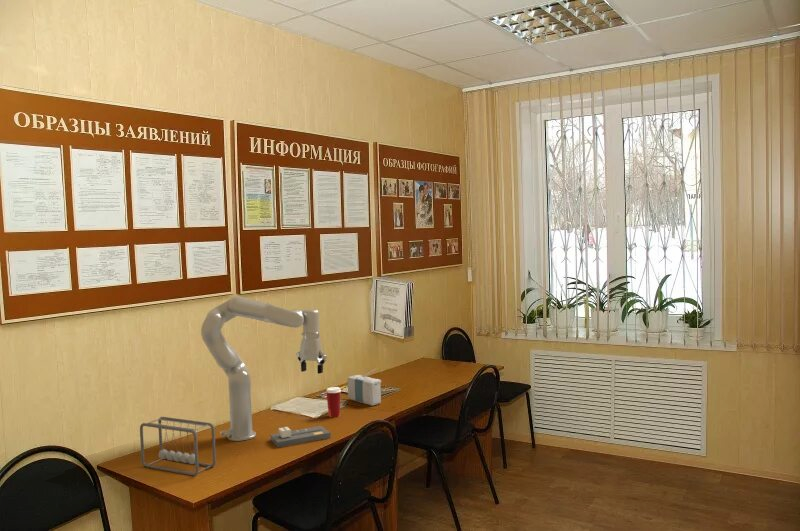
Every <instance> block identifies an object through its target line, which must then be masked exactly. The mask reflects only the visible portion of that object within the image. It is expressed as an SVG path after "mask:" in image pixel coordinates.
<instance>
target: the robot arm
mask: <svg viewBox="0 0 800 531" xmlns="http://www.w3.org/2000/svg"><path fill="white" fill-rule="evenodd" d="M235 317H240V318H241V317H242V318H246V319H250V320H251V319H252V320H255V321H256V320H257V321H260V322H266V323H271V324H275V325H278V326H279V325H280V326H285V327H290V328H295V329H296V328H299V327H302V333H301V336H302V338H301V340H300V342H301V343H300V348H299V349H300V351H298V352H297V353H296V356H297V360H298V361H299V364H300V371H301V372H302V373H303V372H306V371H307V362H306V361H309V362H316V363H317V365H316V366H317V367H316V368H317V374H322V373H324V364H325V362H326V361H327V359H328V355H327V354H326V353H324V352H323V345H322V340H321V338H320V312H319V310H318V309H315V308H314V309H312V308H310V309H308V308H307V309H296V308H295V309H287V308H282V307H278V306H275V305H273V304H271V303H268V302H264V301H261V300H260V301H259V300H255V299H254V300H253V299H250V298H246V297H243V296H241V295H236V296H233V297H231V298H230V299H228V300H227V301H224V302H223V303H221V304H220V305H218V306H215V307H214V308H212V309H210V310H209V311H208V312H207V314H206V317H205V319H204V320H203V322H202V324H201V328H200V335H201V338H202V341H203V342H204V345H205V346H206V347H207V349H208V351H209V353H210V354H211V356H212V357H213V359H214V360H215V362H216V365H217V366H218V367H219V368H220V369H222V371H223V372H224V373H225V375H226V377H227V379H228V380H227V381H228V400H229V401H228V402H229V418H230V419H229V420H230V427H228V429H226V430H219V434H220V436H224V437H227V440H229V441H233V442H243V441H249V440H251V439H253V438H255V437H256V436H257V432H256V431H255V430H253V414H252V413H253V412H252V411H253V410H252V394H251V393H252V392H251V388H252V387H251V381H252V380H251V375H250V372H249V368H248V367H247V365H246V364H245V363H244V361H243V359H242V358H241V356H240V355H239V354H238V352H237V350H236V349H235V347H233V346H231V345H230V344H229V342H228V341H227V340H226V337H225V336H224V335H223V333H222V328H223V326H224V325H225V323H228V322H229V321H230V320H232V319H235Z"/></svg>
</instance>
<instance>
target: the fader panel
mask: <svg viewBox="0 0 800 531" xmlns="http://www.w3.org/2000/svg"><path fill="white" fill-rule="evenodd" d="M269 435H270V436H269V437H270V438H269V439H270V442H272V443H273V444H274V446H276V448H277V449H278V448H284V447H285V446H286V447H290V446H289V445H291V446H295V445H294V444H296V445H300V444H299V443H302V444H306V443H305V442H307V443H310V442H309V441H313V442H316V441H315V440H318V441H322V440H321V439H323V440H328V439H327V438H329V439H331V432H330V431H329V430H327V429H326V428H325V427H323V426H322V425H318V426H312V427H308V428H307V427H306V428H301V429H296V430H295V429H294V430H291V437H285V438H282V437H281V436H279V432H277V433H271V434H269Z"/></svg>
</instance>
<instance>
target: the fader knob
mask: <svg viewBox="0 0 800 531" xmlns="http://www.w3.org/2000/svg"><path fill="white" fill-rule="evenodd" d="M291 431H292V429H290V428H289V426H283V427H278V433H279V436H281V437H282V438H285V437H291Z"/></svg>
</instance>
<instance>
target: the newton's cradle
mask: <svg viewBox="0 0 800 531" xmlns="http://www.w3.org/2000/svg"><path fill="white" fill-rule="evenodd" d="M157 421H158V422H157ZM162 421H163V422H162ZM155 422H157V423H155ZM165 422H166V423H167V422H170V423H168V424H163V423H165ZM174 423H177V424H175V425H169V424H174ZM179 424H180V426H176V425H179ZM181 424H185V426H187V427H183V425H181ZM189 425H192V427H194V426H195V427H194V428H191V427H189ZM196 426H199V427H198V428H197V427H196ZM207 426H208V427H210V428H211V446H212V447H211V449H212V463H207V462H206V463H205V462H200V461H199V451H198V450H199V449H198V434H197V431H198V430H201V429H202V428H205V427H207ZM144 427H148V428H155V429H157V430H158V443H159V444H158V445H159V452H158V457H159V459H158V460H155V461H152V462H150V463H148V464H147V463H146V462H145V446H144V445H145V442H144ZM162 430H165V434H164V436H165V438H164V439H167V440H169V439H168V433H167V430H169V431H172V436H175V434H174V431H175V432H176V431H177V432H179V436H182V434H181V432H185V433H186V434H187V435H186V437H187V441H190V439H189V433H191V434H192V436H193V447H192V448H191V447H189V449H190V451H192V452H190V454H189V452H183V453H182V452H181V451H180V450H178V447H175V448H176V452H175V451H174V450H173V448H170V446H168V448H169V450H167V449H165V448H164V447H165V445H166V442H164V446H163V433H162ZM215 434H216V432H215V426H214V424H213V423H212V422H205V421H198V420H197V421H196V420H190V419H183V418H175V417H170V416H169V417H168V416H160V417H159V418H158V419H154V420H151V421H149V422H142V423H141V424H140V426H139V439H140V440H139V441H140V456H141V457H140V460H141V461H140V462H141V465H142V466H143V467H145V466H146V467H145V468H149V467H151V468H150V469H154V468H155V469H154V470H159V469H160V470H161V471H166V472H170V473H177V474H182V475H187V476H191V477H192V476H193V477H195V476H197V475H198V474H199V473H201V472H202V471H205V470H207V469H209V468H214V467H215V466H216V464H217V459H216V458H217V455H216V453H217V452H216V437H215V436H216V435H215ZM182 438H183V437H180V439H179V442H178V445H180V443H182V446H184V444H183V442H181V441H183V439H182ZM171 440H172V442H171V444H173V440H174V441H176V439H175V437H172V439H171ZM180 440H181V441H180ZM167 443H168V445H170V443H169V441H167ZM174 443H175V444H174V445H175V446H177V445H176V444H177V443H176V442H174ZM188 444H189V446H191V443H190V442H186V445H185V448H187V445H188ZM185 448H184V447H182V450H183V451H185ZM191 449H192V450H191ZM193 452H194V453H193ZM166 459H167V460H166ZM162 460H166V461H171V462H177V463H178V462H179V463H184V464H190V465H194V467H195V471H194V472H192V471H187V470H180V469H174V468H172V467H171V468H169V467H166V466H165V467H164V466H159V465H153V464H154V463H156V462H159V461H162ZM199 466H200V467H205V468H203V469H201V470H199V469H200V468H199Z"/></svg>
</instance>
